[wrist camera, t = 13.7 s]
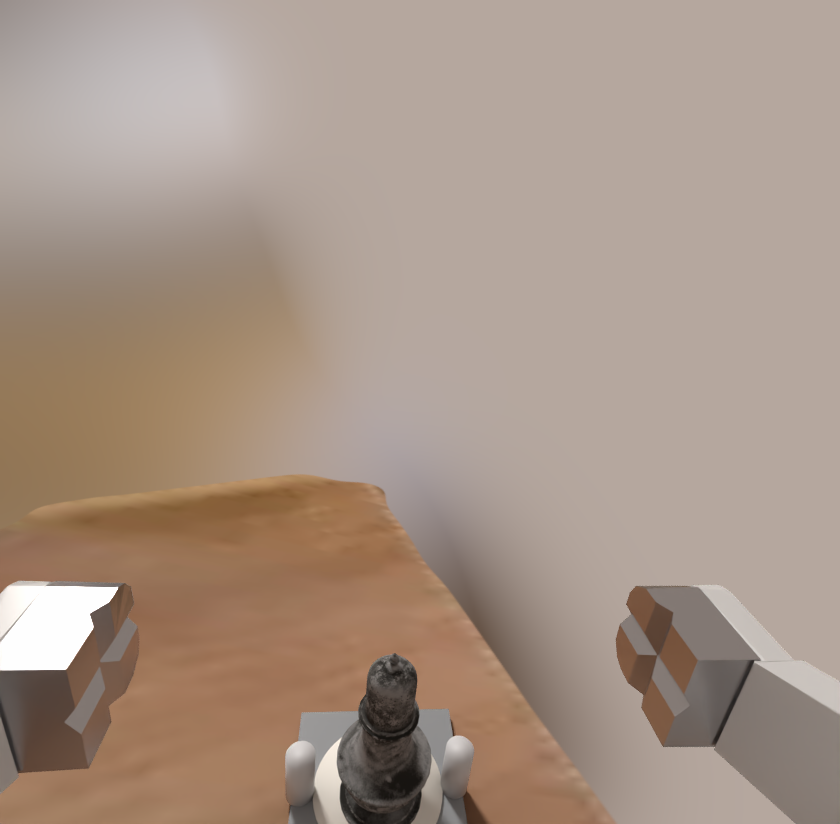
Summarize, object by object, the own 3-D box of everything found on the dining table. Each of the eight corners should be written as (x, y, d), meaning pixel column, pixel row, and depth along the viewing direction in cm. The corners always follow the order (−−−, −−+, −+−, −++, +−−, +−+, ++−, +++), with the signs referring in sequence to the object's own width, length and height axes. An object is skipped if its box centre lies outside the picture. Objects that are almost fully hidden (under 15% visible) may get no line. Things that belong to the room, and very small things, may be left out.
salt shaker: (357, 735, 37) (367, 603, 32) (437, 765, 35) (458, 632, 31) (317, 821, 31) (322, 678, 27) (408, 861, 30) (429, 717, 25)
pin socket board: (271, 906, 28) (270, 862, 27) (296, 713, 39) (296, 673, 37) (482, 891, 30) (493, 848, 28) (451, 709, 40) (458, 670, 39)
